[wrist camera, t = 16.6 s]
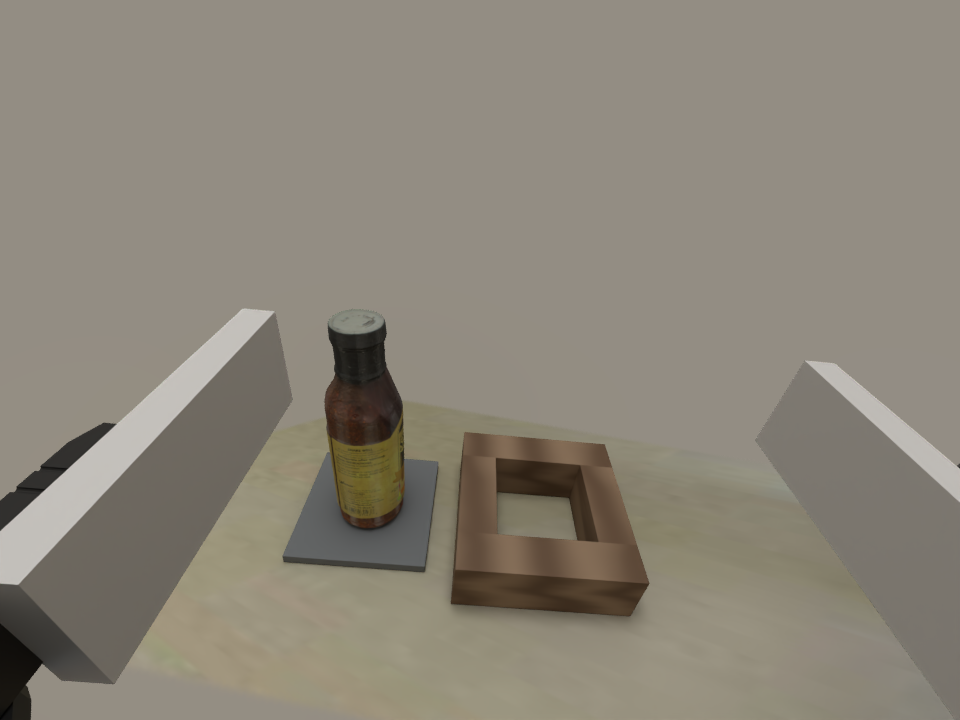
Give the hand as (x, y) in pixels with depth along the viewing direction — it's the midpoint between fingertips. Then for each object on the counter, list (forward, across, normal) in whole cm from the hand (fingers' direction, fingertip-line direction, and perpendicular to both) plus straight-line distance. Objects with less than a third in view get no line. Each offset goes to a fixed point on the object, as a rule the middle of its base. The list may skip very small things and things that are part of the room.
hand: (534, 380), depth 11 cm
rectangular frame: (+16, +6, -30) cm, 35 cm away
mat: (+17, -10, -30) cm, 36 cm away
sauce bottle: (+17, -10, -29) cm, 35 cm away
